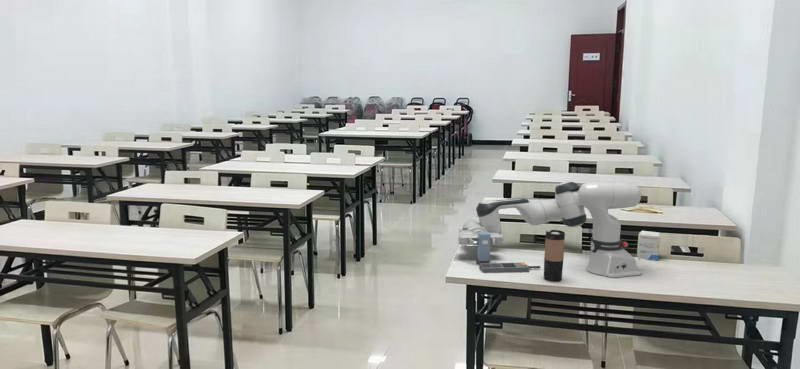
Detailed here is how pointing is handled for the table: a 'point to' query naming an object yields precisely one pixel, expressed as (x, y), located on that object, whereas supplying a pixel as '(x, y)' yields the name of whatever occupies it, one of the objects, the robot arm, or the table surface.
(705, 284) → the table surface
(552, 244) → the travel mug
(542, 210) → the robot arm
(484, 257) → the blue rectangular block
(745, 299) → the table surface
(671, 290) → the table surface
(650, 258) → the ink box
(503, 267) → the power strip
